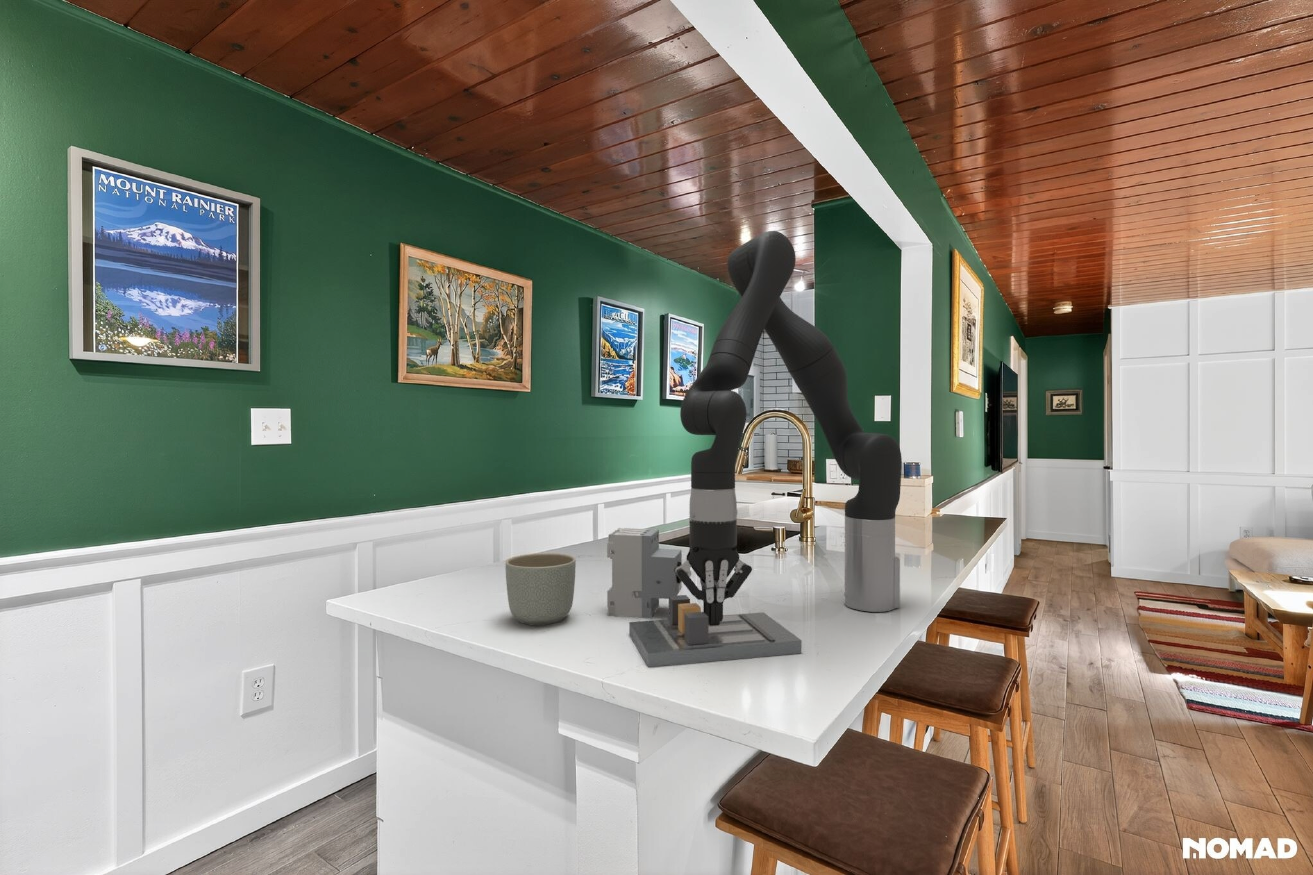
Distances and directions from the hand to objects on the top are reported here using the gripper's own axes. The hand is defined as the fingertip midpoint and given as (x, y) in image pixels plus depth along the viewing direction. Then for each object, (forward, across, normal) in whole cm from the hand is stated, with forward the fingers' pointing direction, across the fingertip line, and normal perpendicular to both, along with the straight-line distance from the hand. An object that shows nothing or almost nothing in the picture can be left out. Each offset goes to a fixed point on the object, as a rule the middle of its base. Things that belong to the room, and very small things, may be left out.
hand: (712, 624), depth 102 cm
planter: (+3, +26, -19) cm, 33 cm away
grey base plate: (+3, 0, 0) cm, 3 cm away
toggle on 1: (+1, +4, -5) cm, 7 cm away
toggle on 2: (+1, +4, +5) cm, 6 cm away
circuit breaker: (+3, +6, -19) cm, 20 cm away
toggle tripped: (+1, +4, 0) cm, 4 cm away
